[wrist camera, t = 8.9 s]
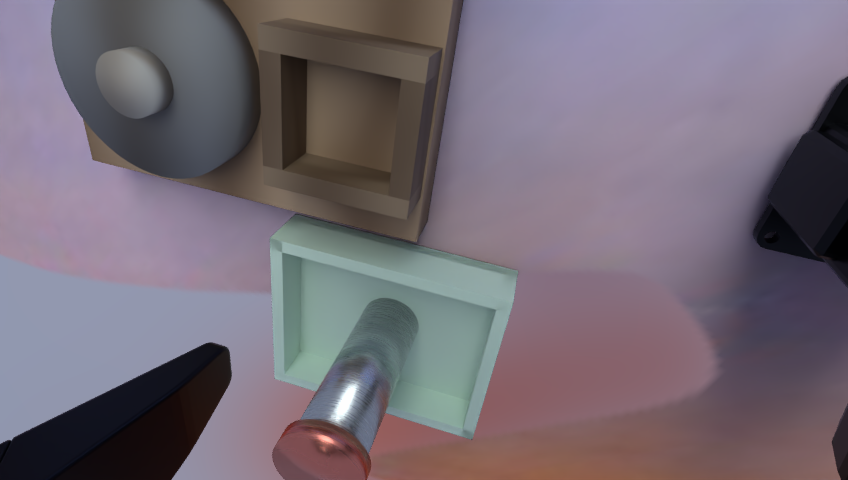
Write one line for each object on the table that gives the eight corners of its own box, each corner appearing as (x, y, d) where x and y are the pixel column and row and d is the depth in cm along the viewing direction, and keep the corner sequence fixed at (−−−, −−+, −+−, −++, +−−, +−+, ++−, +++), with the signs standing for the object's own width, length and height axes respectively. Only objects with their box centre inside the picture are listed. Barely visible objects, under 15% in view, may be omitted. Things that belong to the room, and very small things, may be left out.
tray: (518, 270, 22) (513, 302, 20) (479, 402, 27) (472, 439, 25) (295, 214, 24) (269, 238, 22) (295, 348, 29) (274, 378, 27)
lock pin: (428, 303, 24) (367, 456, 17) (419, 356, 26) (360, 514, 18) (360, 285, 24) (270, 425, 17) (355, 338, 26) (273, 484, 19)
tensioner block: (466, -23, 17) (438, -18, 13) (427, 221, 22) (399, 273, 19) (78, -89, 19) (-39, -102, 16) (124, 146, 25) (44, 179, 21)
